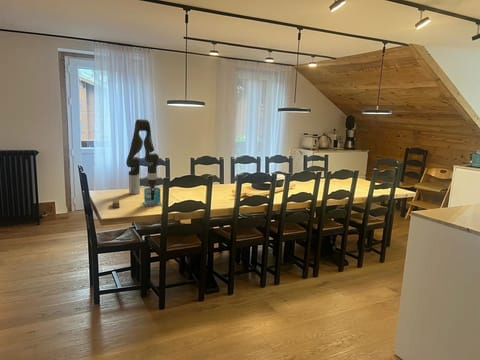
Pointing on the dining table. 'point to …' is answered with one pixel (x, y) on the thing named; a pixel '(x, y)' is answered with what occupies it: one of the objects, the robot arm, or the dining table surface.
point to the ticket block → (115, 203)
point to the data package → (148, 195)
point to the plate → (151, 204)
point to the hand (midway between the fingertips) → (152, 198)
